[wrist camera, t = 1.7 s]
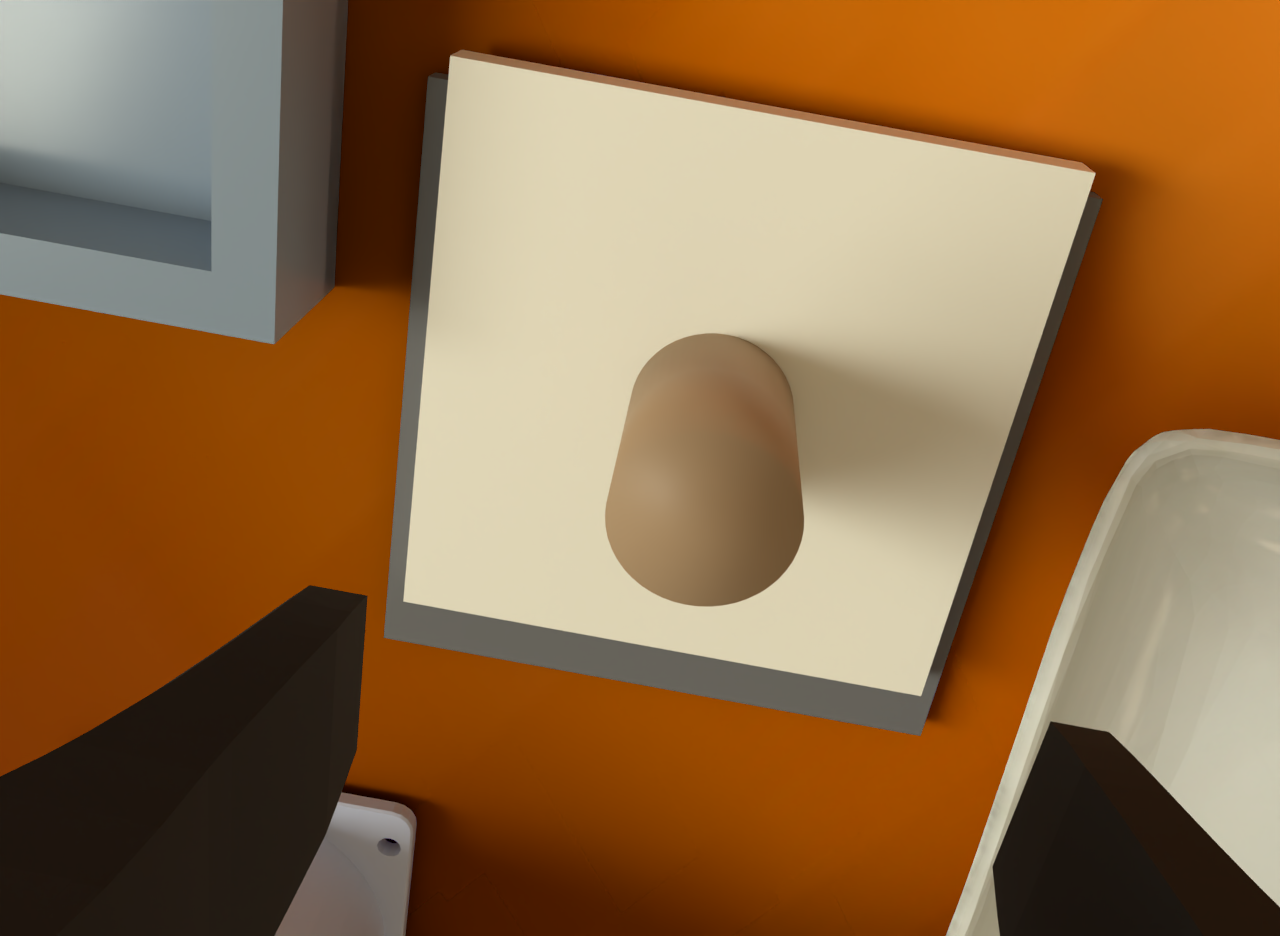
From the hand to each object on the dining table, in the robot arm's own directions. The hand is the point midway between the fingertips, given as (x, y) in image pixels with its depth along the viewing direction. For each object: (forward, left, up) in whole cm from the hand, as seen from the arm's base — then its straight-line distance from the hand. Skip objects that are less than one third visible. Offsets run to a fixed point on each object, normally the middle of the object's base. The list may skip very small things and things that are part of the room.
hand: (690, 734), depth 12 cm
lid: (0, 0, -10) cm, 10 cm away
